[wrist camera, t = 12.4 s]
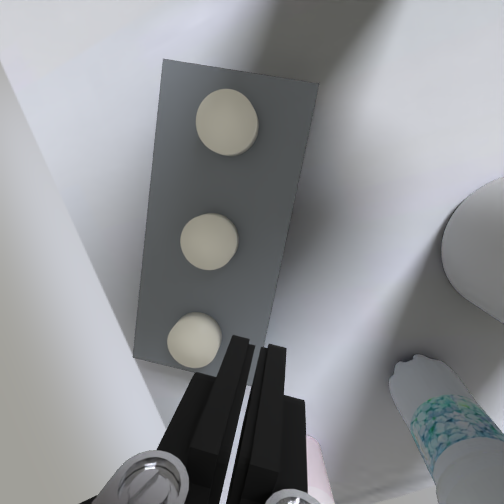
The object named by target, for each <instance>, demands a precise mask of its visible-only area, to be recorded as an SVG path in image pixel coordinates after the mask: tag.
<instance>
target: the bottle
mask: <svg viewBox="0 0 504 504" xmlns="http://www.w3.org/2000/svg"><path fill="white" fill-rule="evenodd" d="M389 389H390V393H391V396H392V399H393V401H394V403H395V406H396V408H397V409H398V411H399V413H400V415H401V416H402V418H403V420H404V421H405V423H406V425H407V427H408V428H409V430H410V432H411V434H412V436H413V438H414V441H415V443H416V445H417V447H418V449H419V451H420V453H421V455H422V457H423V459H424V462H425V464H426V466H427V468H428V470H429V472H430V474H431V476H432V478H433V480H434V482H435V485H436V494H437V499H438V503H439V504H504V434H503V433H502V431H501V430H500V429H499V428H498V427H497V426H496V424H495V423H494V422H493V421H492V420H491V418H490V417H489V416H488V415H487V414H486V412H485V411H484V410H483V409H482V408H481V407H480V406H479V404H478V403H477V402H476V401H475V399H474V398H473V396H472V395H471V394H470V392H469V391H468V389H467V388H466V387H465V385H464V384H463V382H462V381H461V380H460V379H459V377H458V376H457V375H456V374H455V373H454V372H453V370H452V369H451V368H450V367H449V366H447V365H446V364H445V363H444V362H442V361H440V360H436V359H435V360H433V359H430V358H428V357H426V356H424V355H420V354H418V355H414V356H413V360H410V361H408V362H402V361H399V362H398V363H397V364H396V365H395V369H394V374H393V376H391V377H390V378H389Z"/></svg>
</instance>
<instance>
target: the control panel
mask: <svg viewBox="0 0 504 504" xmlns="http://www.w3.org/2000/svg"><path fill="white" fill-rule="evenodd" d="M318 87H319V83H312V82H306V81H300V80H293V79H287V78H281V77H275V76H268V75H262V74H256V73H250V72H243V71H237V70H231V69H224V68H218V67H212V66H206V65H199V64H193V63H187V62H180V61H174V60H168V59H163V64H162V74H161V84H160V94H159V103H158V113H157V123H156V133H155V143H154V153H153V163H152V172H151V182H150V192H149V202H148V212H147V222H146V231H145V241H144V251H143V261H142V271H141V281H140V290H139V300H138V310H137V320H136V330H135V340H134V350H133V358H137V359H141V360H145V361H149V362H154V363H158V364H162V365H166V366H170V367H174V368H178V369H182V370H186V371H191V372H195V373H196V372H199V373H203V374H207V375H211V376H214V377H217V374H218V372H219V369H220V366H221V364H222V361H223V359H224V356H225V353H226V351H227V348H228V345H229V343H230V340H231V338H232V335H236V336H240V337H244V338H248V339H250V341H249V344H252V345H255V350H254V354H253V358H252V363H251V367H250V371H249V376H248V380H247V385H248V386H252V383H253V378H254V374H255V370H256V366H257V361H258V357H259V353H260V349H261V347H264V342H265V338H266V333H267V328H268V324H269V319H270V314H271V309H272V305H273V300H274V295H275V290H276V286H277V281H278V276H279V272H280V267H281V262H282V257H283V253H284V248H285V243H286V238H287V234H288V229H289V224H290V220H291V215H292V210H293V205H294V201H295V196H296V191H297V186H298V182H299V177H300V172H301V168H302V163H303V158H304V153H305V149H306V144H307V139H308V134H309V130H310V125H311V120H312V116H313V111H314V106H315V101H316V97H317V92H318ZM220 89H232V90H236V91H238V92H240V93H242V94H243V95H244V96H245V97H246V98H247V99H248V100H249V101H250V102H251V104H252V106H253V108H254V110H255V112H256V114H257V117H258V122H259V129H258V135H257V138H256V140H255V142H254V143H253V145H252V146H251V147H250V148H249V149H248V150H247V151H246V152H244V153H242V154H240V155H237V156H224V155H221V154H219V153H216V152H214V151H212V150H210V149H209V148H208V147H206V146H205V145H204V143H203V142H202V141H201V139H200V137H199V135H198V132H197V129H196V115H197V111H198V108H199V106H200V104H201V103H202V101H203V100H204V99H205V98H206V97H207V96H208V95H209V94H210V93H212V92H214V91H217V90H220ZM207 213H218V214H221V215H223V216H225V217H227V218H228V219H229V220H230V221H231V222H232V223H233V224H234V225H235V227H236V229H237V232H238V236H239V244H238V248H237V251H236V253H235V254H234V255H233V257H232V258H231V259H230V260H229V262H228V263H227V264H225V265H224V266H223V267H221V268H218V269H215V270H203V269H200V268H197V267H195V266H194V265H192V264H191V263H190V262H189V261H188V260H187V259H186V257H185V256H184V254H183V252H182V249H181V244H180V238H181V233H182V231H183V228H184V227H185V225H186V224H187V223H188V222H189V221H190V220H192V219H193V218H195V217H197V216H200V215H203V214H207ZM192 312H200V313H204V314H207V315H209V316H210V317H212V318H213V319H214V320H215V321H216V322H217V323H218V325H219V327H220V329H221V332H222V341H221V344H220V347H219V349H218V351H217V353H216V356H215V358H214V359H213V360H212V362H210V363H209V364H208V365H206V366H204V367H200V368H190V367H186V366H184V365H182V364H180V363H178V362H177V361H176V360H175V359H174V358H173V357H172V355H171V354H170V352H169V349H168V345H167V339H168V335H169V332H170V331H171V329H172V328H173V327H174V326H175V324H176V323H177V322H178V321H179V319H180V318H181V317H183V316H184V315H186V314H188V313H192Z"/></svg>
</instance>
